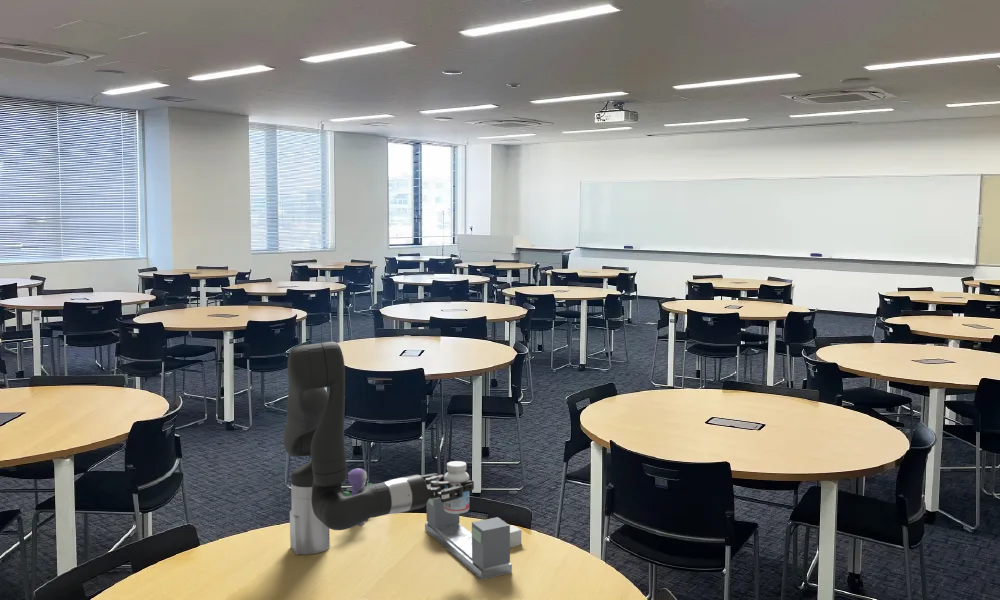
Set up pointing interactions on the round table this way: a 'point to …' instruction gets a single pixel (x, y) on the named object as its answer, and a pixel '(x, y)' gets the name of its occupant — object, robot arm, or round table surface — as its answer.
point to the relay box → (515, 536)
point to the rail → (464, 549)
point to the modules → (477, 535)
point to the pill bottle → (456, 476)
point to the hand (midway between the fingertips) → (465, 481)
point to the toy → (356, 482)
